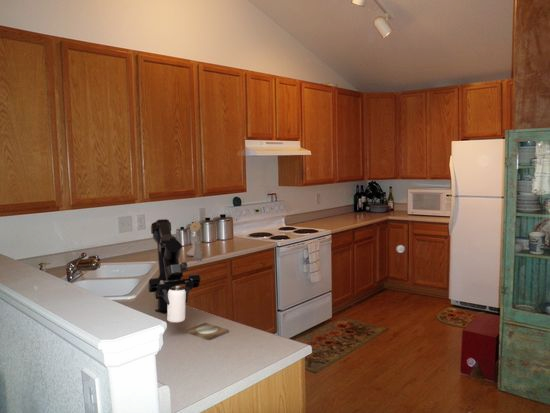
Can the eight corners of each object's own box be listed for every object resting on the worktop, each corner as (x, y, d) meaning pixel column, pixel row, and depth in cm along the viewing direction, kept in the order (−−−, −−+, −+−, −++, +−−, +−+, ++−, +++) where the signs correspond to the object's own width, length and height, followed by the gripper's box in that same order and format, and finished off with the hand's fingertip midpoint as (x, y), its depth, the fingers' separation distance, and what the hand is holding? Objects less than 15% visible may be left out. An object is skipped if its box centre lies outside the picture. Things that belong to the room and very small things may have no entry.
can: (186, 317, 166) (187, 286, 166) (183, 323, 160) (184, 290, 159) (168, 317, 166) (169, 285, 165) (165, 323, 160) (166, 290, 159)
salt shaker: (193, 259, 304) (192, 241, 302) (201, 259, 306) (200, 240, 305) (194, 261, 298) (194, 242, 297) (203, 260, 300) (202, 241, 299)
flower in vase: (183, 256, 317) (182, 221, 315) (195, 253, 326) (194, 219, 323) (194, 258, 309) (194, 222, 306) (207, 255, 317) (206, 221, 315)
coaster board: (185, 332, 168) (185, 329, 168) (205, 325, 176) (205, 322, 176) (209, 340, 160) (209, 337, 160) (228, 332, 168) (228, 329, 168)
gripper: (148, 257, 161) (152, 295, 152) (199, 253, 168) (206, 289, 159) (146, 273, 169) (150, 310, 160) (195, 269, 176) (201, 304, 167)
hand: (177, 303), depth 161 cm, fingers closed on can, 6 cm apart
